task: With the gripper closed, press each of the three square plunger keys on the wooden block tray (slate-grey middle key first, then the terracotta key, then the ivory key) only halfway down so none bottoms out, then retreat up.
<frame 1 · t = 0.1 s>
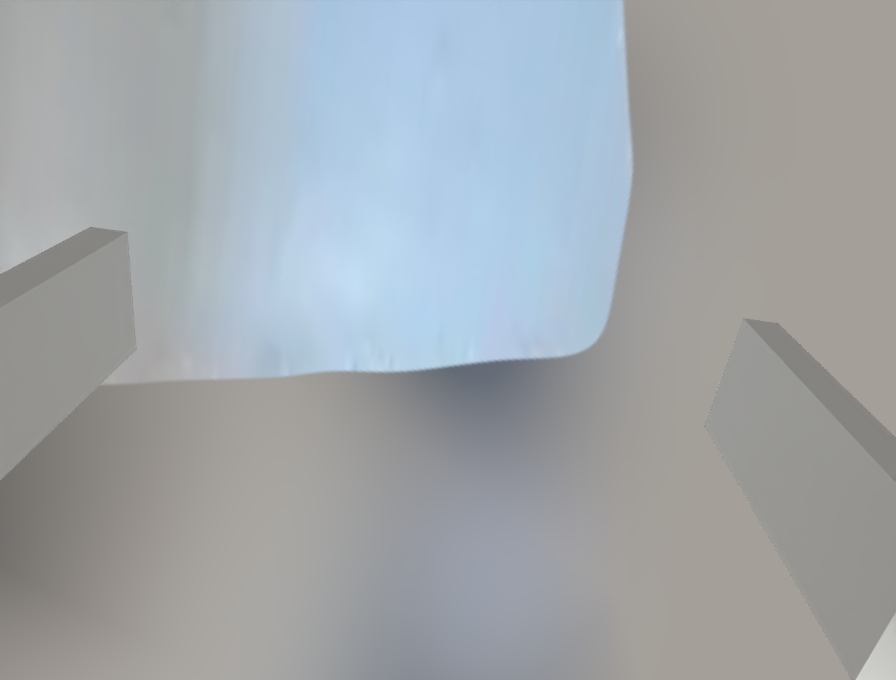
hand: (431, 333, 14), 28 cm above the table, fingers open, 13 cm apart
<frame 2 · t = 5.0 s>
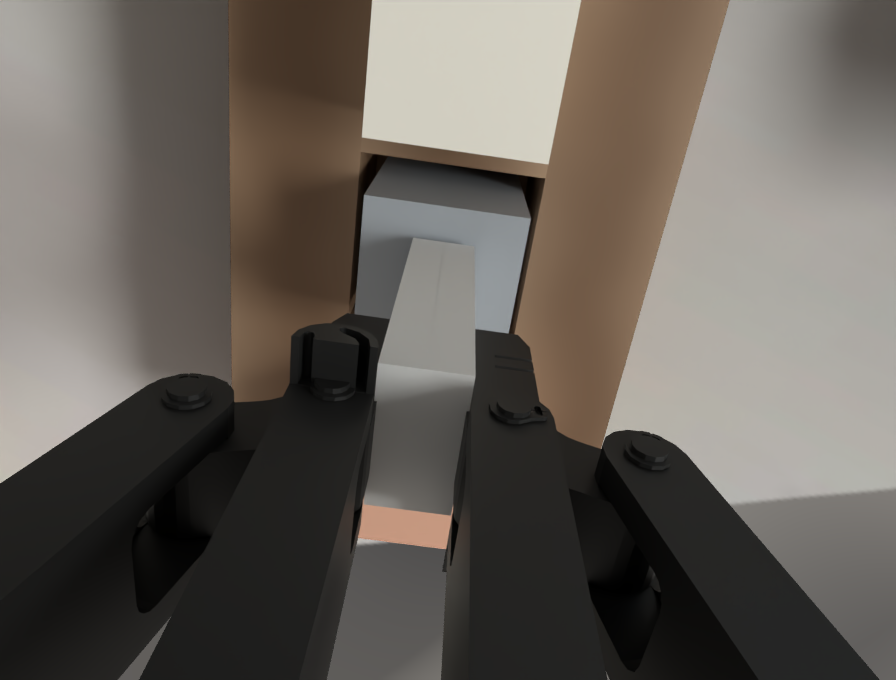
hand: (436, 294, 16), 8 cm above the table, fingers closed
terracotta key: (416, 435, 20), point 6 cm above the table, slide at 0.0 cm
ivory key: (469, 45, 15), point 6 cm above the table, slide at 0.0 cm
slate key: (441, 253, 19), point 5 cm above the table, slide at 1.1 cm, touching gripper
wooden block tray: (447, 208, 23), on the table
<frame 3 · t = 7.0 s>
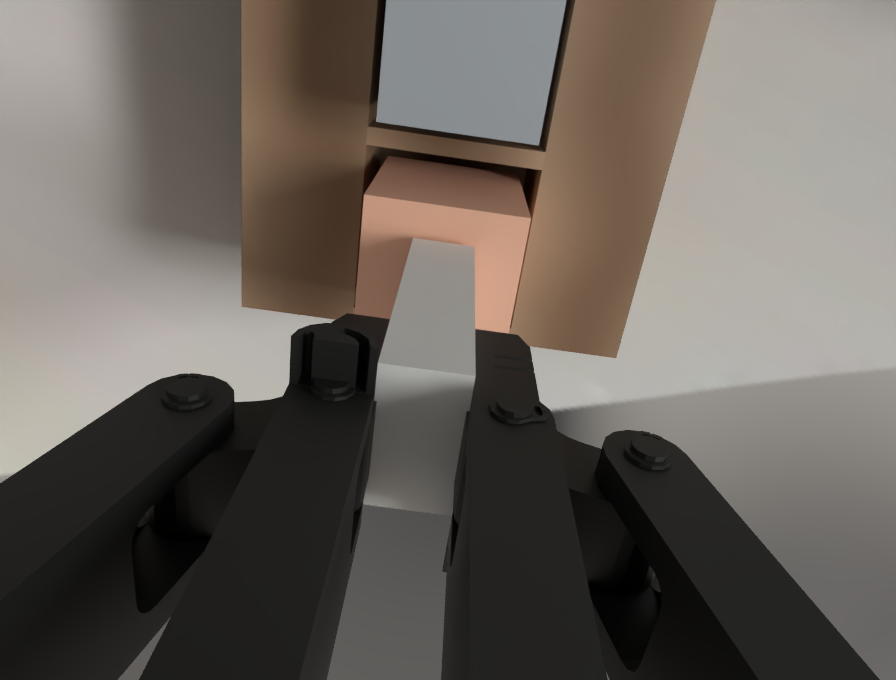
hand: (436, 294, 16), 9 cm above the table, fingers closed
terracotta key: (441, 253, 19), point 6 cm above the table, slide at 0.1 cm, touching gripper
slate key: (470, 41, 17), point 5 cm above the table, slide at 1.3 cm
wooden block tray: (470, 37, 22), on the table
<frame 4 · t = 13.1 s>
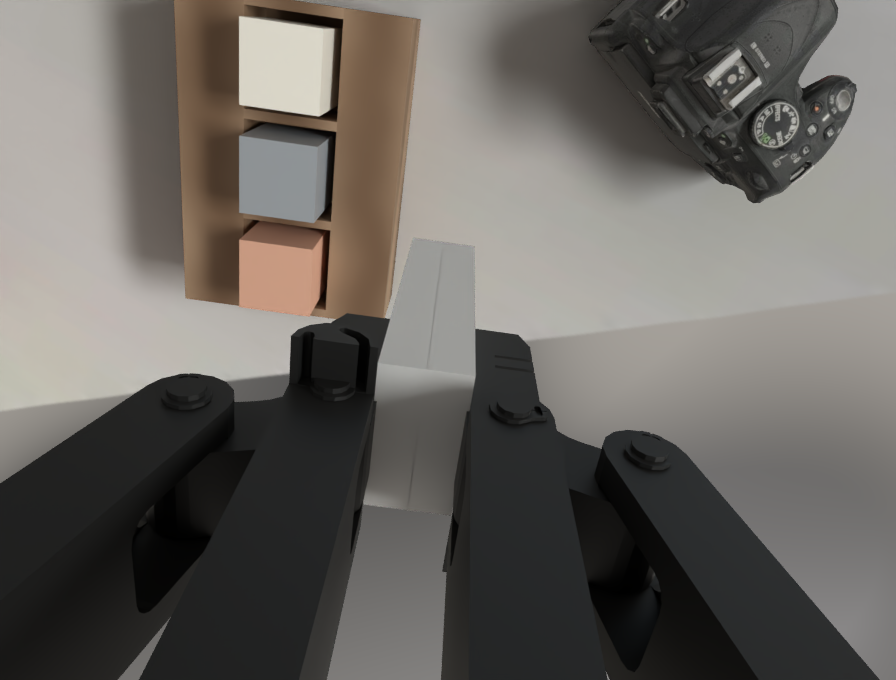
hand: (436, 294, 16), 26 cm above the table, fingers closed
terracotta key: (286, 264, 39), point 5 cm above the table, slide at 1.3 cm
camera: (693, 68, 38), on the table
ivory key: (292, 65, 34), point 5 cm above the table, slide at 1.3 cm
slate key: (289, 171, 37), point 5 cm above the table, slide at 1.3 cm
wooden block tray: (308, 155, 41), on the table
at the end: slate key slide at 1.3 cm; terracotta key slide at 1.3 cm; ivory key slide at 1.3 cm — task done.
